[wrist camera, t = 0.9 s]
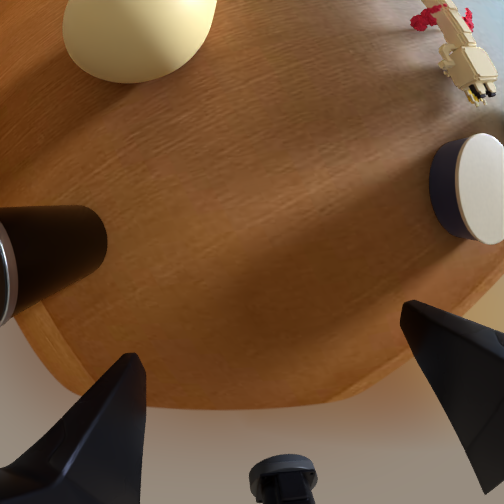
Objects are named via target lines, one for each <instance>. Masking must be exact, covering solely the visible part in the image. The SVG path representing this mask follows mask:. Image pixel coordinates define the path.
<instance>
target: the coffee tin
mask: <svg viewBox="0 0 504 504" xmlns="http://www.w3.org/2000/svg"><path fill="white" fill-rule="evenodd" d="M429 190H430V197H431V202H432V205H433V209H434V211H435V214H436V216H437V218H438V220H439V222H440V223H441V225H442V226H443V227H444V228H445V229H446V230H447V231H448V232H449V233H450V234H452V235H454V236H456V237H460V238H466V239H471V240H477V241H479V242H481V243H484V244H489V245H490V244H497V243H499V242H501V241H502V240H503V239H504V147H503V146H502V144H501V143H500V142H499V141H498V140H497V139H495V138H494V137H492V136H491V135H488V134H484V133H480V134H475V135H472V136H471V137H468V138H464V139H460V140H455V141H451V142H448V143H446V144H444V145H443V146H442V147H441V148H440V149H439V150H438V151H437V153H436V155H435V156H434V159H433V161H432V165H431V168H430V176H429Z"/></svg>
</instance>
